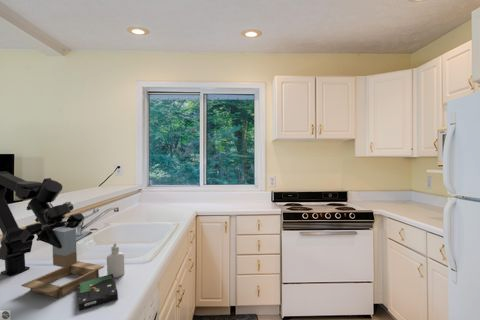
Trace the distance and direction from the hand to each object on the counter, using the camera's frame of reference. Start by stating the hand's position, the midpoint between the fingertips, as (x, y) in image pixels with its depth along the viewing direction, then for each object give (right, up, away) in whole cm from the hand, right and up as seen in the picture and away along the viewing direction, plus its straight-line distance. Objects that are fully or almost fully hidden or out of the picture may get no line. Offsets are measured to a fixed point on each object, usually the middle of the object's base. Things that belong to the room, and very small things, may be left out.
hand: (67, 245), depth 88 cm
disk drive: (+14, -14, -6) cm, 20 cm away
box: (-1, -7, +1) cm, 7 cm away
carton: (-1, -13, +1) cm, 13 cm away
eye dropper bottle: (+14, -13, +6) cm, 20 cm away
